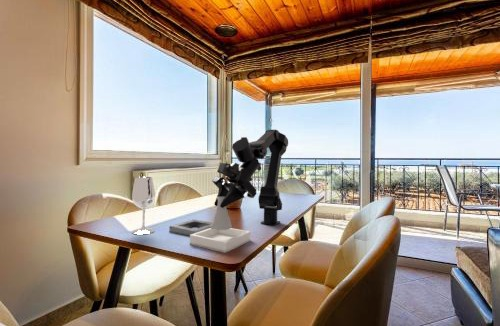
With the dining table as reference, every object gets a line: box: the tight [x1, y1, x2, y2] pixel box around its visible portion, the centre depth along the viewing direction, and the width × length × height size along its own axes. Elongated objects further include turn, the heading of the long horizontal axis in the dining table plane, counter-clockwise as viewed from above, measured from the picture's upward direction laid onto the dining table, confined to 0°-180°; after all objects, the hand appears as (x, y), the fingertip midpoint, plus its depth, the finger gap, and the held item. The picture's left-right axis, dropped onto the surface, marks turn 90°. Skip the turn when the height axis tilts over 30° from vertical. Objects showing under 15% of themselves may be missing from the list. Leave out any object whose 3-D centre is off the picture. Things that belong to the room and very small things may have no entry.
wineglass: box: [131, 176, 156, 235], centre depth 96 cm, size 8×8×20 cm
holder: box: [168, 219, 212, 237], centre depth 99 cm, size 13×13×2 cm
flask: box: [211, 196, 233, 230], centre depth 85 cm, size 7×7×10 cm
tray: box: [189, 227, 252, 254], centre depth 85 cm, size 14×14×3 cm
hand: (218, 206), depth 84 cm, fingers closed on flask, 3 cm apart
